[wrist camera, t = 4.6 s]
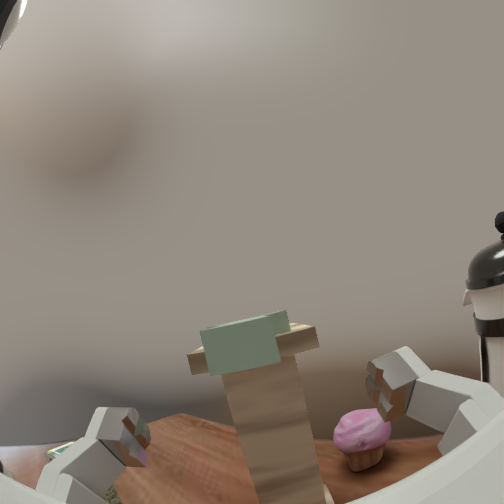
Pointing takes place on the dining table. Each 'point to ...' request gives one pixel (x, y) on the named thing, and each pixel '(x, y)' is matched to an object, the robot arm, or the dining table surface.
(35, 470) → the dining table surface
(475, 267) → the coffee press
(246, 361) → the spatula
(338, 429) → the cupcake
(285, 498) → the stand
